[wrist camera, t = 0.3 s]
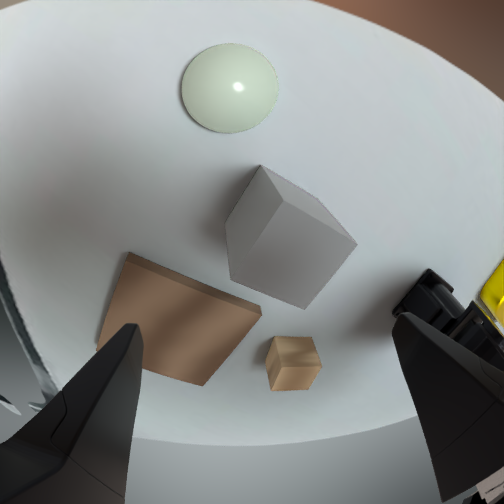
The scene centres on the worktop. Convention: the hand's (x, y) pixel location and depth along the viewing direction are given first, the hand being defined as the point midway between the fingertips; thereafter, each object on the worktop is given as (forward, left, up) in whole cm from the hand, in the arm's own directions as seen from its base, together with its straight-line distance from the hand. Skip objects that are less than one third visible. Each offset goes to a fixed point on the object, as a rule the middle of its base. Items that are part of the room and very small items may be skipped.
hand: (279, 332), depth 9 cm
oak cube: (-13, +12, -13) cm, 22 cm away
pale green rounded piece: (+4, -6, -13) cm, 15 cm away
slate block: (-3, 0, -13) cm, 13 cm away
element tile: (-42, -12, -14) cm, 45 cm away
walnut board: (-1, +14, -13) cm, 19 cm away
